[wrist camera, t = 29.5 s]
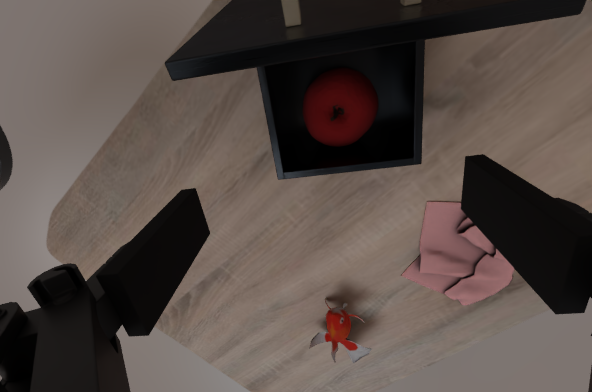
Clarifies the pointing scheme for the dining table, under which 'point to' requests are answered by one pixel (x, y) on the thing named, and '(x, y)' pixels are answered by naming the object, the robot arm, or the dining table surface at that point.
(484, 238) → the cloth
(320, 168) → the box
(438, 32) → the lid
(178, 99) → the dining table surface
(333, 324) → the fish
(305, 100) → the apple
